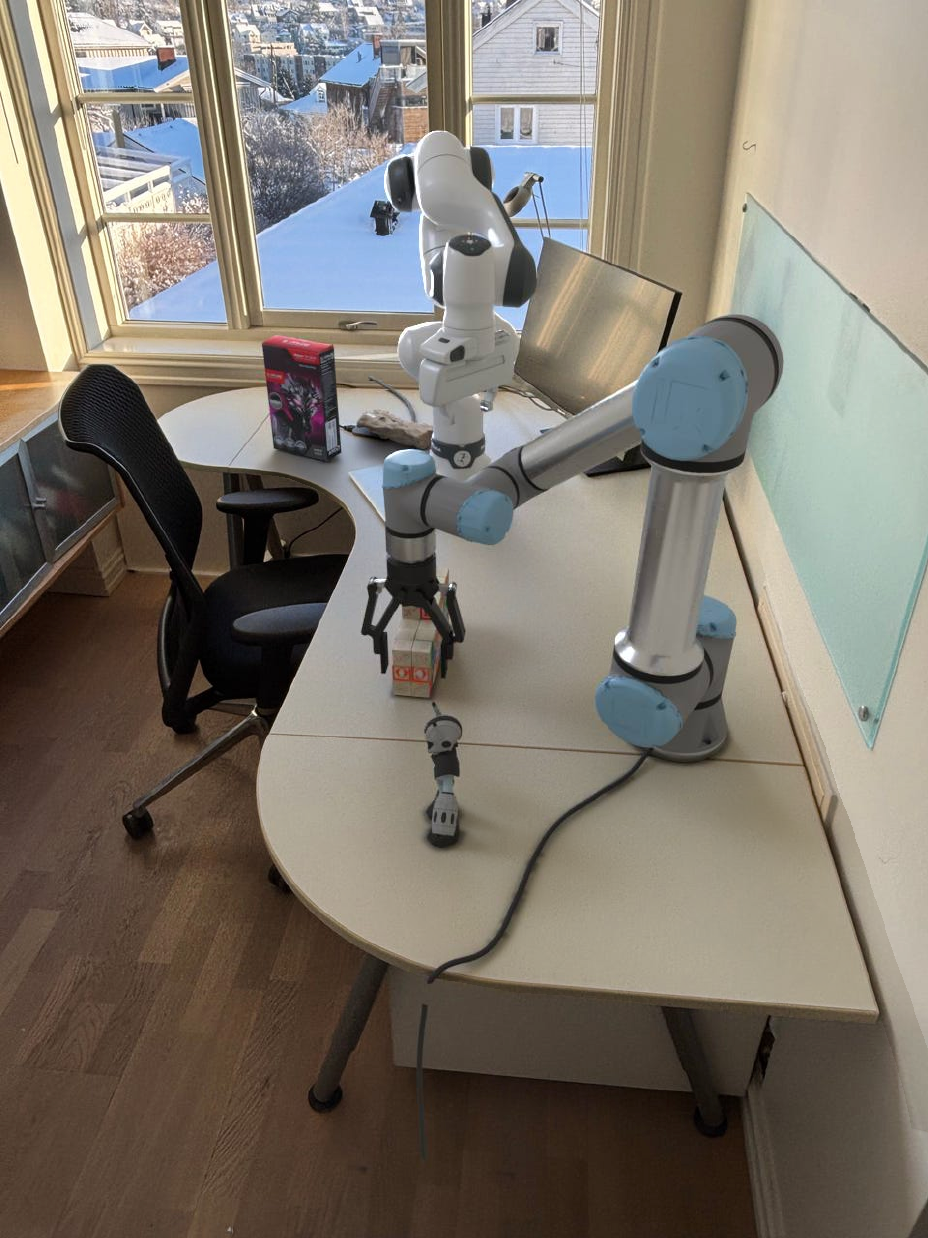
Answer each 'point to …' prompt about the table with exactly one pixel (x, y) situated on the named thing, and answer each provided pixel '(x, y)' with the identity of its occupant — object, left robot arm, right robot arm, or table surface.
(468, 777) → the table surface
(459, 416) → the left robot arm
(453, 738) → the robot
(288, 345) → the graphics card box
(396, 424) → the stone
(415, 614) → the stack of blocks
